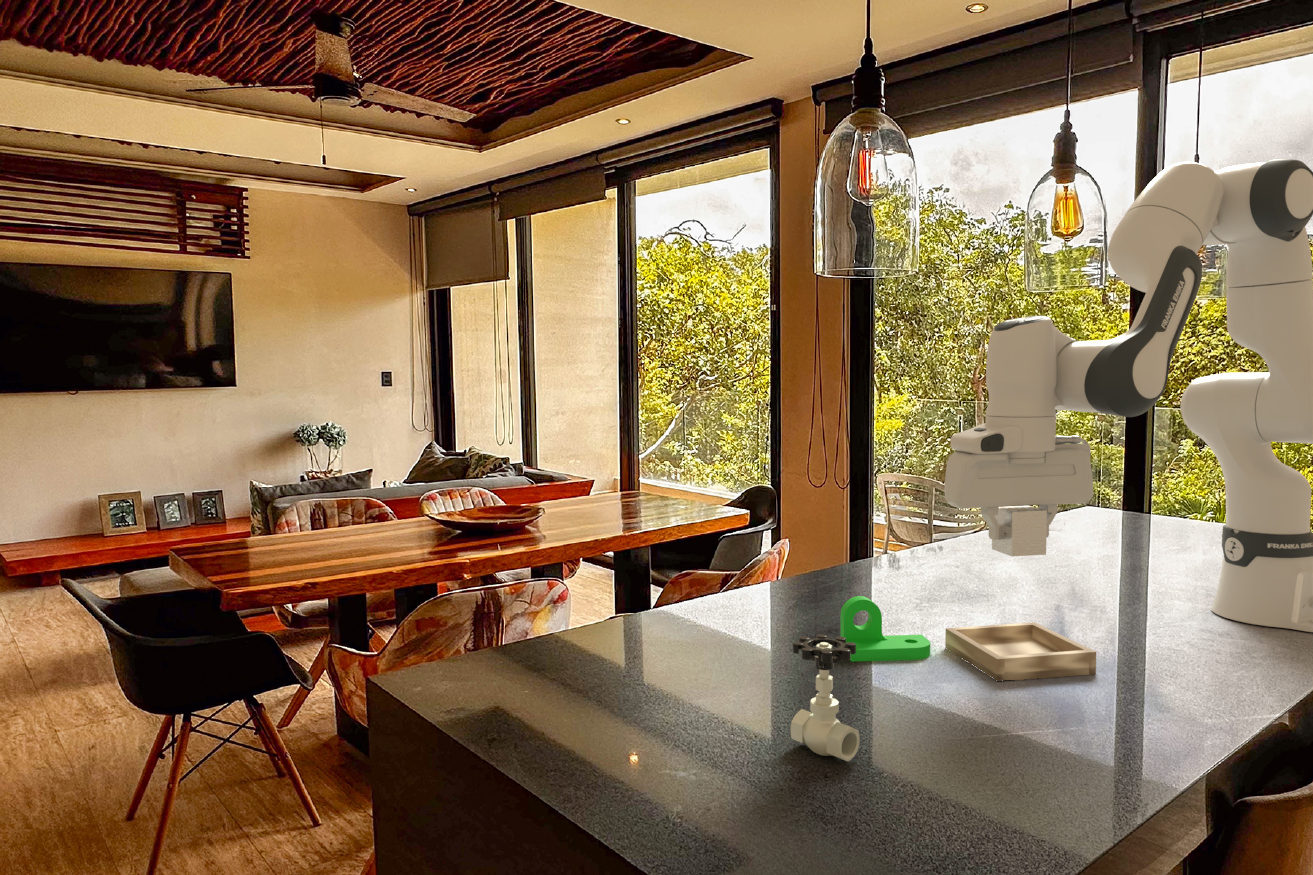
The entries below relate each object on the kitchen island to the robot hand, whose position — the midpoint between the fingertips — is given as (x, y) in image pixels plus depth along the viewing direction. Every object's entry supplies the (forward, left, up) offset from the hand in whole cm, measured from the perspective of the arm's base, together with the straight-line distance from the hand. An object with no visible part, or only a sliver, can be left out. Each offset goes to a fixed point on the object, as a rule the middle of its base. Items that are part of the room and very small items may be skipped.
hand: (1018, 538), depth 122 cm
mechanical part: (+16, -7, -18) cm, 25 cm away
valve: (+36, +23, -17) cm, 46 cm away
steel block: (0, 0, -2) cm, 2 cm away
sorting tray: (0, 0, -17) cm, 17 cm away
